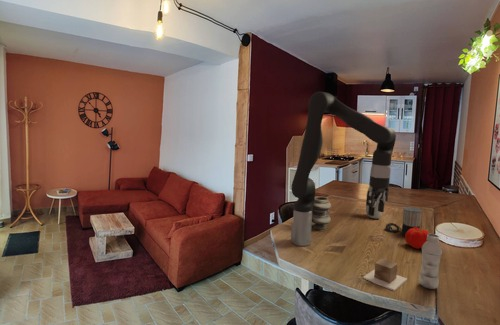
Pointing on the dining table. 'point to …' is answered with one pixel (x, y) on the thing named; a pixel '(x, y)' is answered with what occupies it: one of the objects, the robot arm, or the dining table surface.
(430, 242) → the plastic bottle
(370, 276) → the plate
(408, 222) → the milk frother
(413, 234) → the tomato
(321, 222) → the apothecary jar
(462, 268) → the dining table surface
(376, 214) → the white bottle
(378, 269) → the cube
